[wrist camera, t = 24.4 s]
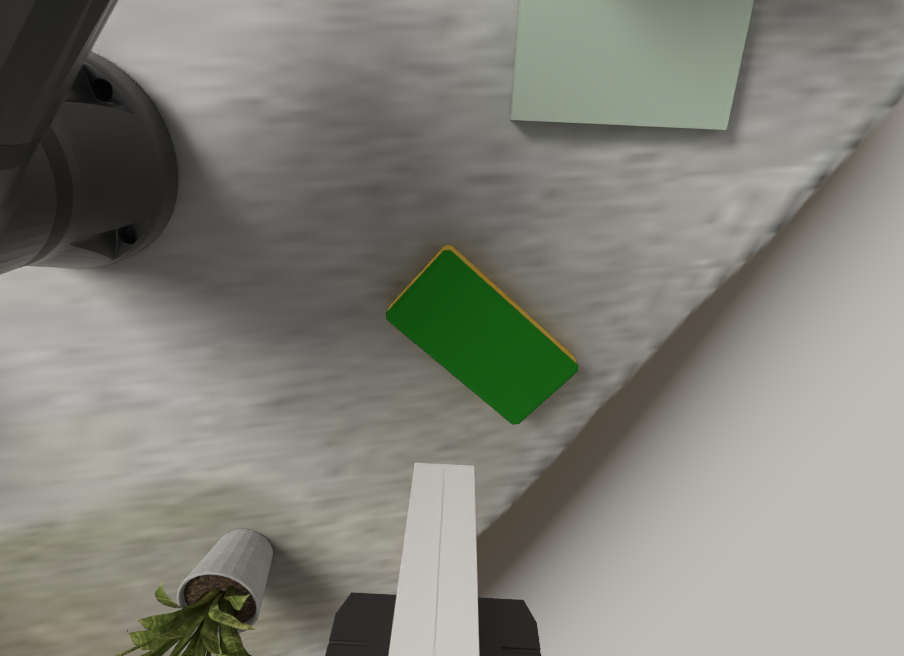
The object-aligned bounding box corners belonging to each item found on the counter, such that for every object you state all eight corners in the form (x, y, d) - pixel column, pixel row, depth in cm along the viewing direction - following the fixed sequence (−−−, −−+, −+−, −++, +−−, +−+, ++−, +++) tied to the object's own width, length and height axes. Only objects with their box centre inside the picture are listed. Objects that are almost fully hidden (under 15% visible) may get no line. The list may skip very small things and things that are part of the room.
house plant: (182, 612, 55) (72, 800, 40) (142, 500, 50) (-1, 667, 35) (321, 606, 54) (261, 797, 39) (293, 492, 49) (213, 659, 34)
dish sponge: (448, 240, 41) (446, 248, 39) (575, 356, 44) (581, 369, 42) (387, 306, 43) (382, 317, 41) (513, 412, 46) (515, 427, 44)
